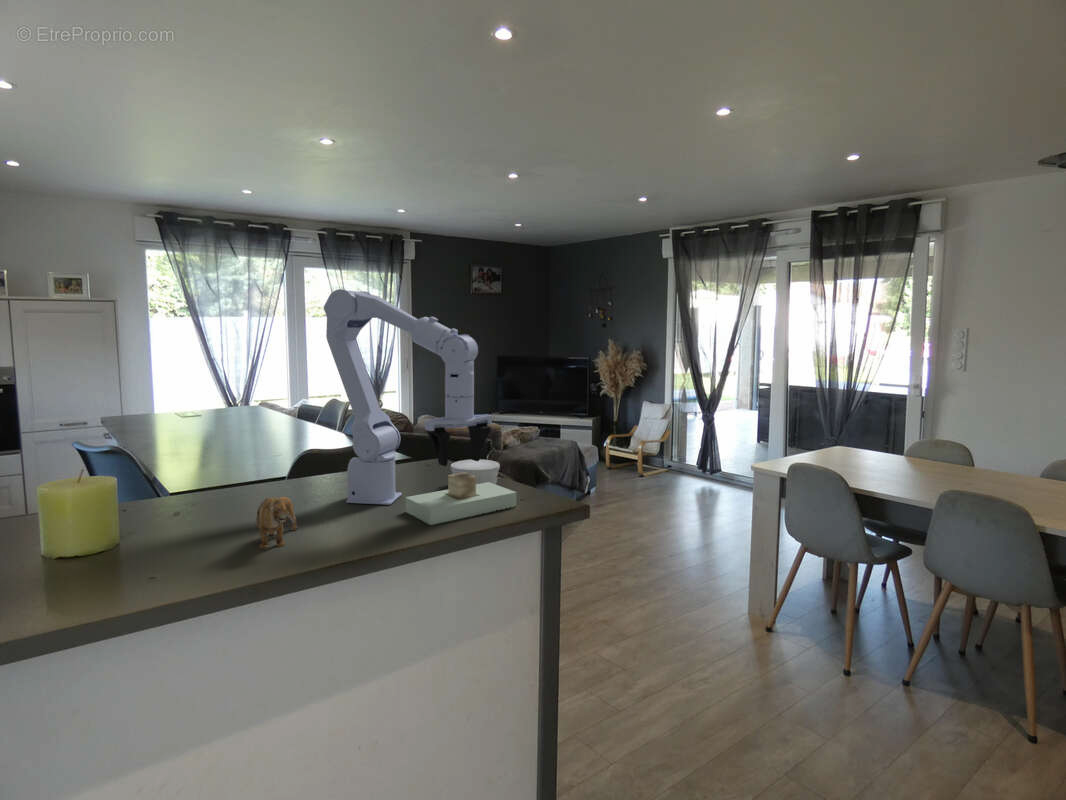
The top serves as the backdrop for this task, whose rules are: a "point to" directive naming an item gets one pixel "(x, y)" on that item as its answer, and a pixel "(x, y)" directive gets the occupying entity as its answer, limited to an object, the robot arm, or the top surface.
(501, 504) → the socket block
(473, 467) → the ramekin
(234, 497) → the top surface
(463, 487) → the peg
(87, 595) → the top surface
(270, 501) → the orange animal figure
